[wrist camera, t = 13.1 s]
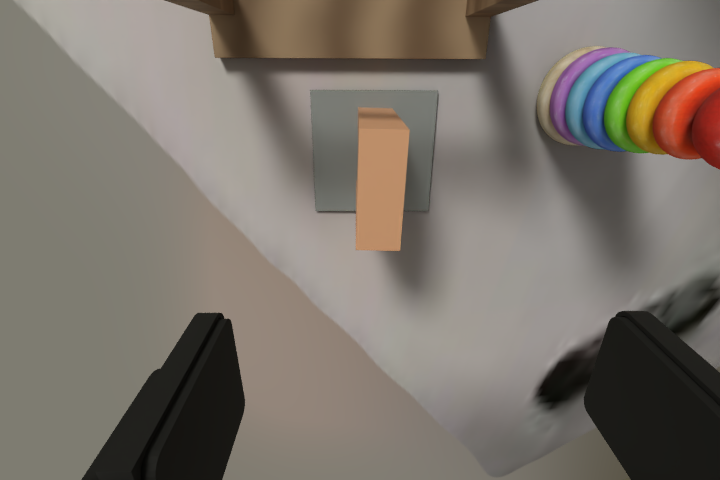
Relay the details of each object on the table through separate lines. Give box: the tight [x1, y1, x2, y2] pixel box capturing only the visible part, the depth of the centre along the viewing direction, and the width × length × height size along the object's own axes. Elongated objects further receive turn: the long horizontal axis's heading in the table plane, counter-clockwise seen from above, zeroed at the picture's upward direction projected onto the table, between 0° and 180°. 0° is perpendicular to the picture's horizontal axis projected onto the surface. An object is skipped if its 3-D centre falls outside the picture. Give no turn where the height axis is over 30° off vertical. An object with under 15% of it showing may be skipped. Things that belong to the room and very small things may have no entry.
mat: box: [310, 90, 438, 211], centre depth 36 cm, size 11×11×1 cm
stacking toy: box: [537, 46, 720, 169], centre depth 25 cm, size 8×8×19 cm
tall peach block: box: [356, 107, 410, 251], centre depth 30 cm, size 3×8×12 cm, turn 178°
